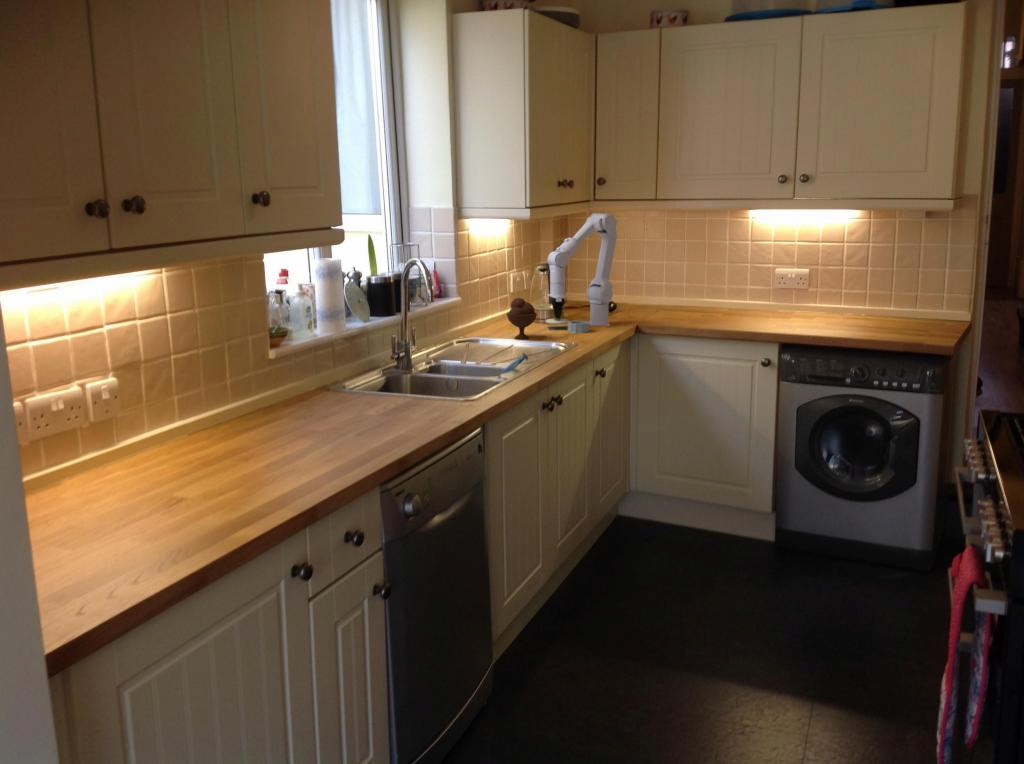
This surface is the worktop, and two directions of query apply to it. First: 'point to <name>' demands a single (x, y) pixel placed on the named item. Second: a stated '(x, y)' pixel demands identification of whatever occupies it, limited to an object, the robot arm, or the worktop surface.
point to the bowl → (578, 326)
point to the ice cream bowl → (521, 316)
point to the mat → (557, 328)
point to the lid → (557, 321)
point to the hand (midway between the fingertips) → (557, 317)
